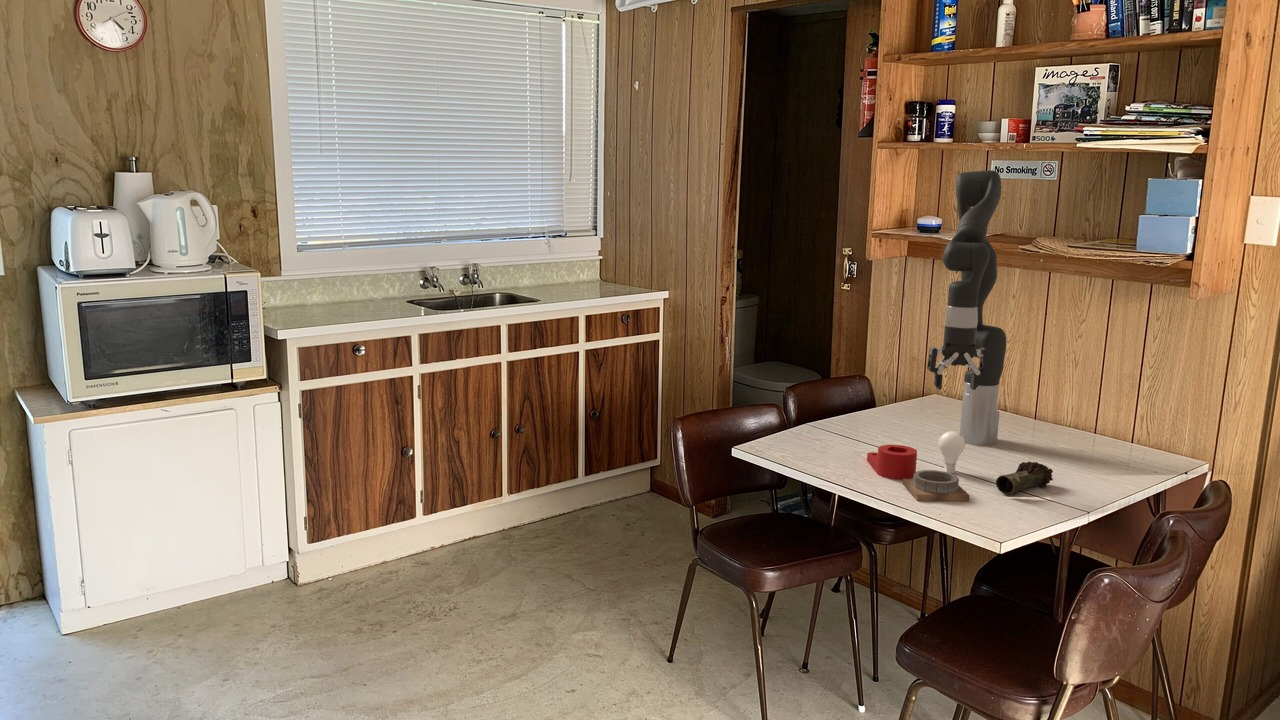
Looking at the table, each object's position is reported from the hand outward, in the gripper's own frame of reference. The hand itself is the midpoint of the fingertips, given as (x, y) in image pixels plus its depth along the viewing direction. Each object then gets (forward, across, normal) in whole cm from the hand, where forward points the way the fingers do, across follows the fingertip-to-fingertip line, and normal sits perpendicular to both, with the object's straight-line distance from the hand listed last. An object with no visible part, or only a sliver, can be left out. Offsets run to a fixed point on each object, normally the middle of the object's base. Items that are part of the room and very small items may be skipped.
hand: (955, 389), depth 239 cm
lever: (+22, +15, -3) cm, 27 cm away
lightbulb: (+22, 0, 0) cm, 22 cm away
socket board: (+22, +8, +15) cm, 28 cm away
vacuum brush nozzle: (+25, -10, +16) cm, 31 cm away
